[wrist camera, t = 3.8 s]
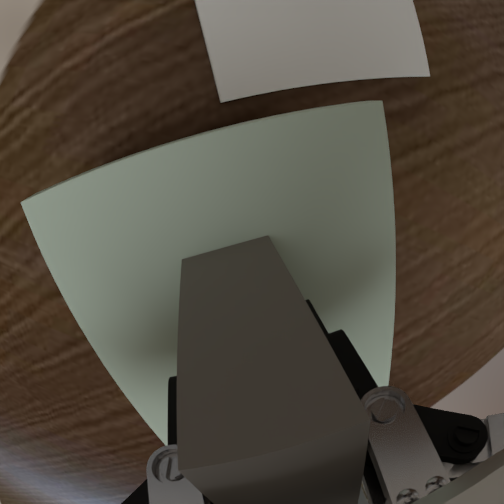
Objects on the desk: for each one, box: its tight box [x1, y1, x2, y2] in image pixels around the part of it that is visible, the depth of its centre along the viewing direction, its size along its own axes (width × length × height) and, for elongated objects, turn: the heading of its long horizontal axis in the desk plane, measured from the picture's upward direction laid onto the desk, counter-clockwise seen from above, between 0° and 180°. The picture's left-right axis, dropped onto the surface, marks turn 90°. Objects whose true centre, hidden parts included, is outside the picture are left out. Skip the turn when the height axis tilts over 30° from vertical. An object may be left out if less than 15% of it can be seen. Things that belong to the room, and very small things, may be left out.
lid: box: [21, 101, 396, 504], centre depth 9 cm, size 12×14×9 cm
